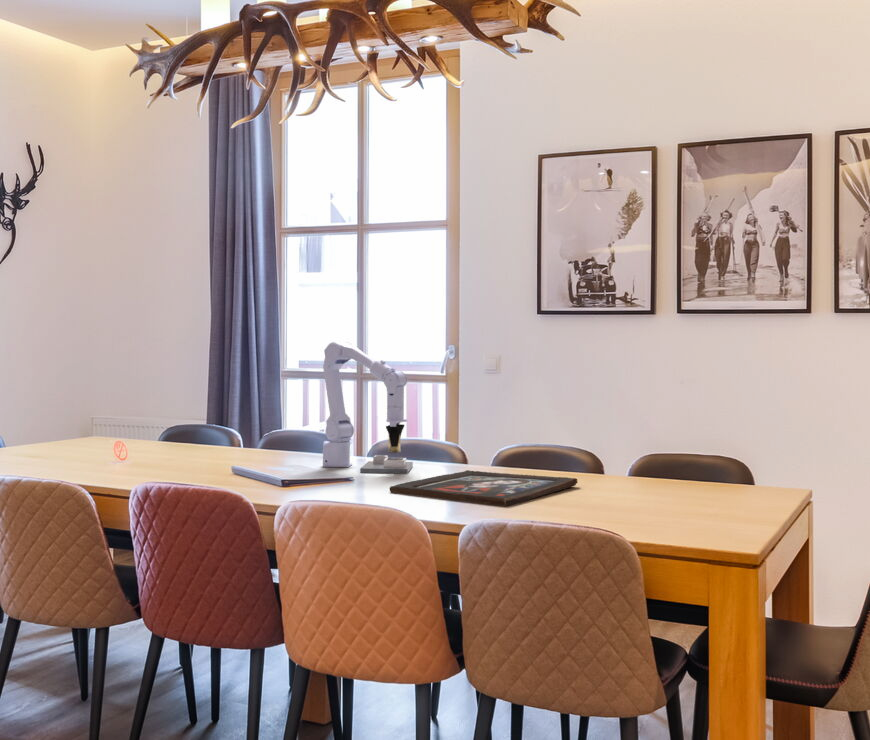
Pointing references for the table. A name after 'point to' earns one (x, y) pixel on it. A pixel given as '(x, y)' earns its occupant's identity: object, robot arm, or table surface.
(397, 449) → the pipe stub
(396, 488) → the religious icon
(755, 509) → the table surface
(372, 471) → the socket plate
